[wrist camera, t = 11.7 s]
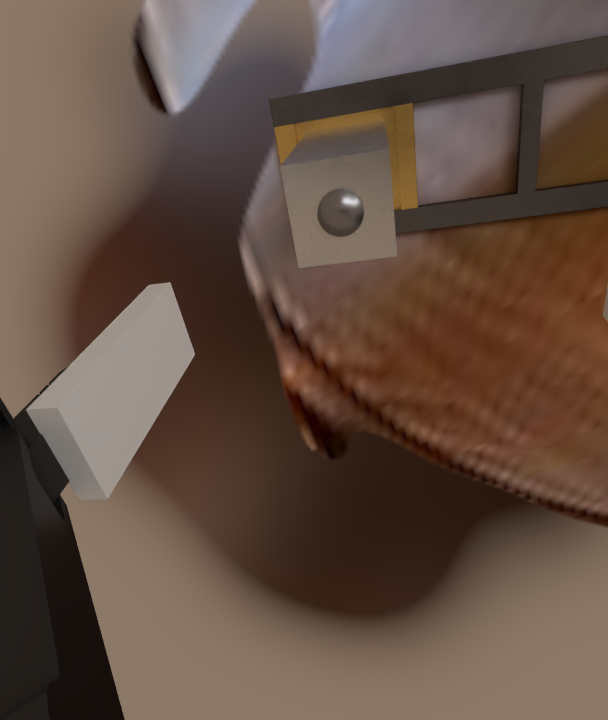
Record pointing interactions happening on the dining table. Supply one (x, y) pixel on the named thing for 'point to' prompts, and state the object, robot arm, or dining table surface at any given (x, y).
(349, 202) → the grey rectangular block
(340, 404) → the dining table surface
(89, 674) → the robot arm
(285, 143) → the grey flat rectangular frame
